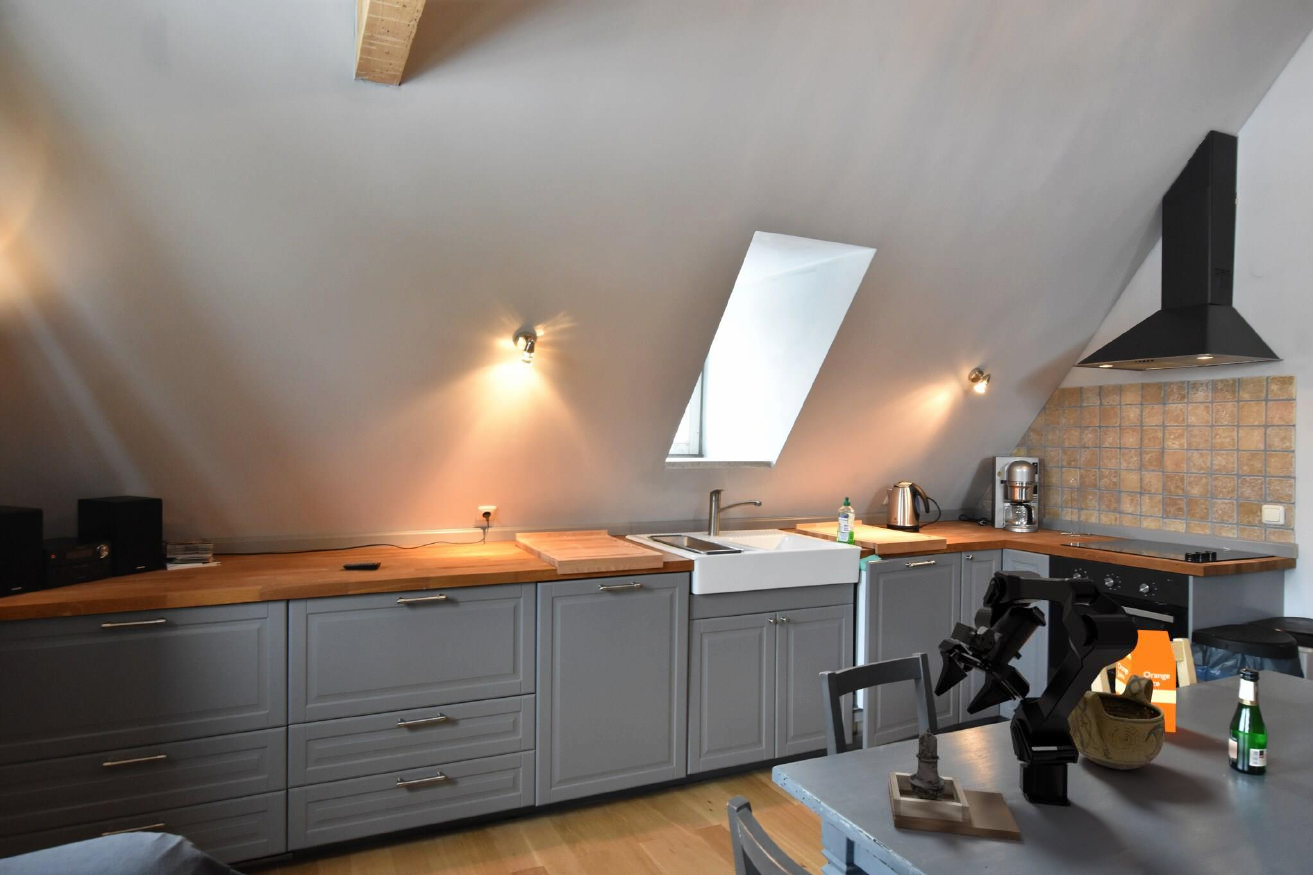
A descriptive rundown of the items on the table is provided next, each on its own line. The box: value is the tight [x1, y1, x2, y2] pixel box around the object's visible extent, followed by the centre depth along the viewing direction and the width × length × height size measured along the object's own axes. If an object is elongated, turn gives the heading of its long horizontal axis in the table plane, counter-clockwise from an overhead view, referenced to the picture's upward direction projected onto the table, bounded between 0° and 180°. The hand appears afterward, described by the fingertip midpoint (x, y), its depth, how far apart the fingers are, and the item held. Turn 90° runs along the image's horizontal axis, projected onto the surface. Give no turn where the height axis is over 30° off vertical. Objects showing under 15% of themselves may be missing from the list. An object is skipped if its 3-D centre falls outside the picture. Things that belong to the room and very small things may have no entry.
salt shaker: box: [908, 727, 947, 801], centre depth 132 cm, size 6×6×12 cm
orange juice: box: [1115, 629, 1177, 733], centre depth 174 cm, size 8×9×20 cm
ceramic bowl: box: [1068, 674, 1166, 771], centre depth 153 cm, size 22×17×15 cm
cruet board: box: [887, 771, 1021, 841], centre depth 131 cm, size 18×14×4 cm
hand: (951, 703), depth 144 cm, fingers open, 9 cm apart
